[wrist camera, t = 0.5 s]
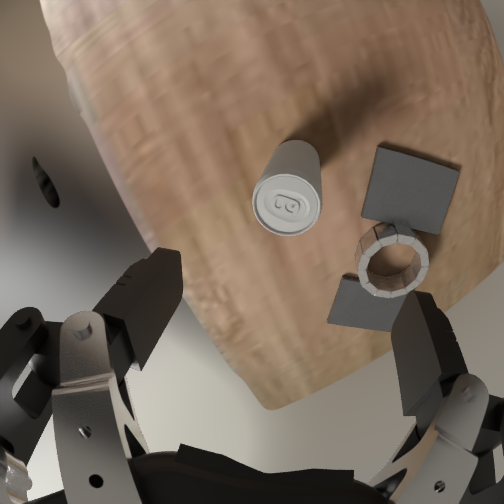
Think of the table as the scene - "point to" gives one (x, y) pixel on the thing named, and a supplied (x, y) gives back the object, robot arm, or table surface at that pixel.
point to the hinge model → (393, 236)
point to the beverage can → (289, 190)
